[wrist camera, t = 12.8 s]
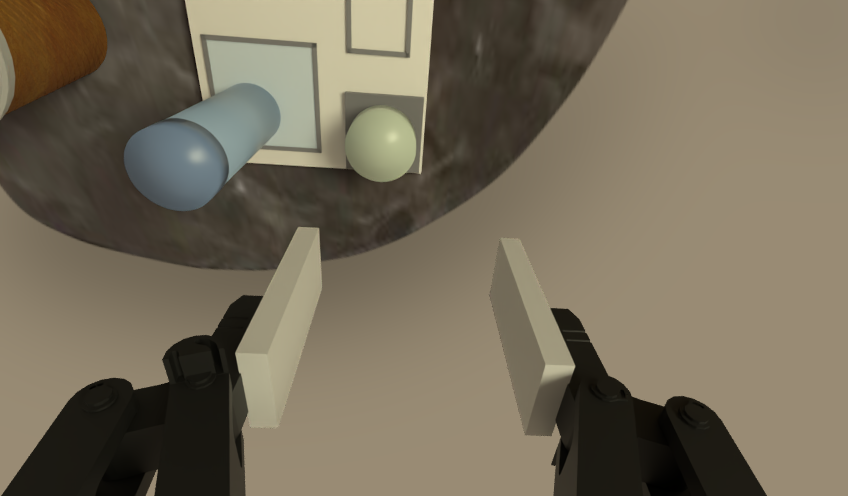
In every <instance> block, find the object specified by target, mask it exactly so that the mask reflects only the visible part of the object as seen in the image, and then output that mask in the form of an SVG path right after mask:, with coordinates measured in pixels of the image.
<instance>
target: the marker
mask: <svg viewBox="0 0 848 496" xmlns="http://www.w3.org/2000/svg"><path fill="white" fill-rule="evenodd" d="M280 121H281V115H280V110H279V107H278V104H277V102H276V101H275V99H274V98H273V96H272V95H271V94H270V93H269V92H268V91H266V90H265V89H264V88H262V87H260V86H258V85H255V84H252V83H239V84H236V85H234V86H232V87H230V88H228V89H226V90H224V91H222V92H220V93H218V94H216V95H214V96H212V97H210V98H207V99H205V100H203V101H201V102H199V103H197V104H195V105H193V106H191V107H189V108H187V109H185V110H183V111H181V112H179V113H177V114H175V115H173V116H171V117H169V118H167V119H164V120H161V121H158V122H156V123H154V124H152V125H150V126H148V127H146V128H144V129H142V130H140V131H138V132H137V133H135V134H134V135H133V136H132V137H131V138H130V139H129V141H128V142H127V145H126V147H125V151H124V164H125V168H126V171H127V174H128V176H129V178H130V180H131V181H132V183H133V184H134V186H135V187H136V188H137V189H138V190H139V191H140V192H141V193H142V194H143V195H144V196H145V197H146V198H148V199H149V200H150V201H152V202H154V203H155V204H157V205H159V206H162V207H164V208H167V209H171V210H176V211H190V210H195V209H198V208H200V207H202V206H204V205H205V204H206V203H208V202H209V201H210V200H211V199H212V198H213V197H214V196H215V195H216V194H217V193H218V192H219V191H220V190H221V189H222V187H223V186H224V185H225V183H226V182H227V181H228V180H229V179H230V178H231V177H232V176H233V175H234V174H235V173H236V172H237V171H238V170H239V169H240V168H241V167H242V166H243V165H244V164H245V163H246V162H247V161H248V160H249V159H250V158H251V157H252V156H254V155H255V154H256V153H257V152H258V151H259V150H260V149H261V148H262V147H263V146H264V145H265V144H266V143H267V142H268V141H269V140H270V139H271V138H272V137H273V136H274V135H275V133H276V132H277V130H278V128H279V126H280Z"/></svg>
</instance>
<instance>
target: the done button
mask: <svg viewBox="0 0 848 496" xmlns="http://www.w3.org/2000/svg"><path fill="white" fill-rule="evenodd" d="M345 152H346V156H347V159H348V161H349V163H350V164H351V166H352V167H353V168H354V170H355V171H356V172H357V173H359V174H360V175H361V176H363V177H365V178H367V179H369V180H372V181H377V182H387V181H392V180H395V179H397V178H399V177H401V176H402V175H404V174H405V173H406V172H407V171H408V170H409V169H410V167H411V166H412V164H413V162H414V159H415V156H416V134H415V130H414V127H413V125H412V123H411V121H410V120H409V119H408V117H407V116H406V115H405V114H404V113H402V112H401V111H399V110H398V109H396V108H393V107H390V106H385V105H377V106H372V107H369V108H367V109H365V110H363V111H362V112H360V113H359V114H358V115H357V116H356V117H355V119H354V120H353V122H352V124H351V126H350V128H349V130H348V132H347V135H346V139H345Z"/></svg>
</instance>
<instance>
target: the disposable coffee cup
mask: <svg viewBox="0 0 848 496" xmlns="http://www.w3.org/2000/svg"><path fill="white" fill-rule="evenodd" d="M106 51H107V36H106V31H105V28H104V25H103V22H102V20H101V18H100V16H99V14H98V13H97V11H96V9H95V7H94V6H93V5H92V3H91V2H90V1H89V0H0V120H1V119H2V118H3V116H4V115H5V114H8V113H10V112H11V111H13V110H16V109H18V108H19V107H23V106H24V105H26V104H28V103H31V102H32V101H34V100H37V99H38V98H40V97H42V96H45V95H47V94H48V93H51V92H53V91H55V90H57V89H59V88H61V87H63V86H65V85H67V84H70V83H71V82H73V81H76V80H77V79H79V78H81V77H83V76H85V75H87V74H90V73H92V72H94V71H95V70H97V69H98V67H99V66H100V65H101V64H102V63H103V61H104V59H105V56H106Z"/></svg>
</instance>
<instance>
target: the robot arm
mask: <svg viewBox="0 0 848 496" xmlns="http://www.w3.org/2000/svg"><path fill="white" fill-rule="evenodd" d="M321 289H322V277H321V258H320V240H319V228H308V227H298V228H297V230H296V232H295V234H294V236H293V238H292V240H291V242H290V244H289V246H288V248H287V250H286V252H285V254H284V256H283V258H282V260H281V262H280V264H279V266H278V268H277V270H276V272H275V274H274V276H273V278H272V281H271V282H270V284H269V286H268V288H267V290H266V293H265V294H264V296H247V295H243V296H241V297H240V298H239V299H237V300H236V301H235V302H234V303H232V304H231V305H230V306H229V308H228V310H227V311H226V313H225V315H224V317H223V319H222V320H221V322H220V323H219V325H218V328H217V329H216V330H215V332H214V333H213V335H212V336H208V335H200V336H193V337H189V338H186V339H183V340H181V341H180V342H178V343H176V344H174V345H173V346H172V347H171V348H170V349H168V350H167V351H166V353H165V355H164V357H163V359H162V360H163V363H164V366H165V370H166V373H167V376H168V379H169V382H168V383H164V384H161V385H157V386H151V387H147V388H142V389H137V390H133V387H132V384H131V383H130V382H129V381H127V380H125V379H120V378H110V379H104V380H100V381H97V382H95V383H92V384H90V385H88V386H86V387H85V388H83V389H81V390H80V391H78V392H77V393H76V394H75V395H74V396H73V397H72V398H71V399H70V400H69V401H68V402H67V404H66V405H65V407H64V408H63V409H62V411H61V412H60V414H59V415H58V416H57V418H56V419H55V421H54V422H53V423H52V425H51V426H50V428H49V429H48V430H47V432H46V433H45V435H44V436H43V438H42V439H41V441H40V442H39V443H38V445H37V446H36V448H35V449H34V450H33V452H32V453H31V454H30V456H29V457H28V459H27V460H26V462H25V463H24V464H23V466H22V467H21V469H20V470H19V472H18V473H17V474H16V476H15V477H14V479H13V480H12V481H11V483H10V484H9V486H8V487H7V489H6V490H5V491H4V493H3V494H2V495H1V496H146V493H147V491H148V489H149V486H150V484H151V482H152V479H153V477H154V475H155V472H156V470H157V469H158V474H157V481H156V488H155V495H154V496H245V468H244V440H243V435H242V430H241V429H242V427H243V424H244V422H245V419H246V417H247V415H248V420H249V425H250V427H258V428H261V427H262V428H278V427H279V424H280V421H281V417H282V414H283V411H284V408H285V405H286V402H287V398H288V395H289V392H290V389H291V386H292V382H293V379H294V376H295V373H296V369H297V366H298V363H299V360H300V357H301V353H302V351H303V347H304V344H305V341H306V338H307V335H308V331H309V328H310V325H311V322H312V318H313V315H314V312H315V309H316V306H317V303H318V299H319V296H320V293H321ZM490 299H491V303H492V307H493V311H494V315H495V319H496V323H497V327H498V331H499V335H500V339H501V342H502V347H503V351H504V355H505V358H506V362H507V366H508V370H509V374H510V378H511V382H512V386H513V390H514V394H515V398H516V401H517V405H518V410H519V413H520V417H521V421H522V425H523V429H524V433H525V435H536V436H552V433H553V430H554V427H555V424H557V426H558V429H559V433H560V435H561V438H560V442H559V444H558V447H557V449H556V452H555V455H554V458H553V461H552V464H551V465H554V466H555V465H556V470H555V483H554V496H767V495H766V493H765V492H764V490H763V488H762V487H761V485H760V484H759V482H758V480H757V478H756V477H755V475H754V474H753V472H752V470H751V469H750V467H749V465H748V464H747V462H746V460H745V459H744V457H743V455H742V454H741V452H740V450H739V449H738V447H737V445H736V444H735V442H734V440H733V439H732V437H731V435H730V434H729V432H728V430H727V429H726V427H725V426H724V424H723V422H722V421H721V419H720V418H719V417H718V416H717V414H716V413H715V412H714V411H713V410H711V409H710V408H709V407H707V406H706V405H705V404H703V403H701V402H699V401H697V400H695V399H692V398H688V397H684V396H675V397H672V398H670V399H668V400H667V402H666V404H665V406H664V407H663V406H660V405H657V404H653V403H650V402H646V401H643V400H640V399H637V398H634V397H632V396H631V393H630V392H629V390H628V389H627V388H626V387H625V386H624V384H622V383H621V382H619V381H618V380H617V379H615V378H612V377H610V376H608V374H607V372H606V370H605V368H604V366H603V364H602V362H601V360H600V358H599V357H598V355H597V353H596V351H595V349H594V347H593V345H592V343H590V339H589V337H588V335H587V334H586V333H585V329H584V327H583V325H582V323H581V322H580V320H579V319H578V318H577V317H576V316H575V315H574V314H573V313H572V312H571V311H570V310H569V309H557V308H550V307H549V305H548V302H547V300H546V298H545V296H544V293H543V291H542V289H541V286H540V284H539V282H538V280H537V277H536V275H535V273H534V271H533V268H532V266H531V264H530V262H529V259H528V257H527V254H526V252H525V250H524V248H523V245H522V243H521V241H520V239H511V238H500V241H499V247H498V252H497V258H496V263H495V268H494V274H493V279H492V285H491V290H490Z"/></svg>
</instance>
